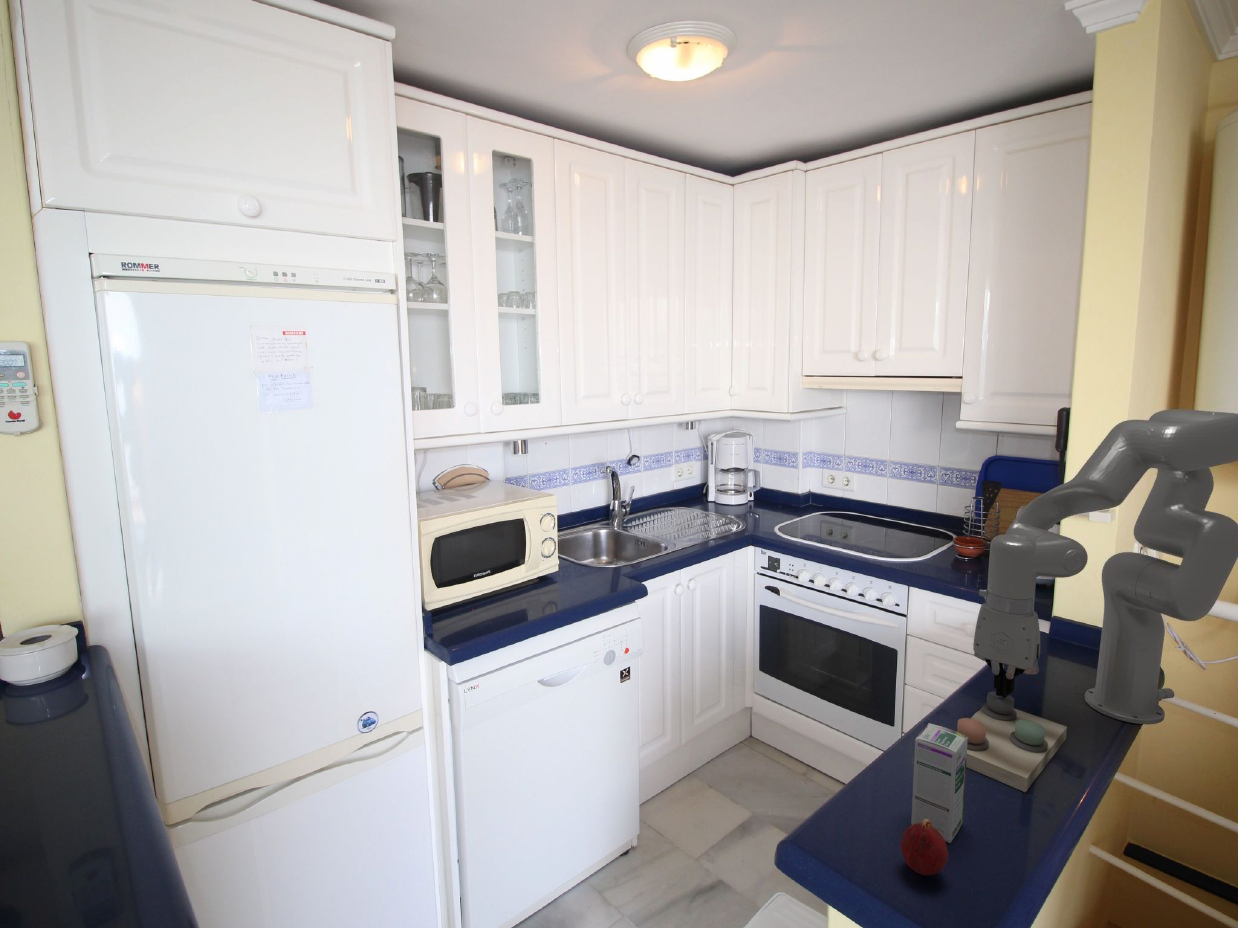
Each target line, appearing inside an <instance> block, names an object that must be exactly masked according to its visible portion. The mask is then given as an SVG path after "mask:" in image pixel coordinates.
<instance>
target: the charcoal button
mask: <svg viewBox="0 0 1238 928" xmlns="http://www.w3.org/2000/svg"><path fill="white" fill-rule="evenodd" d="M986 703H987V707H988V708H989V709H990V710H991V711H993V712H996V713H1000V714H1011V713H1013V709H1014V706H1015V699H1014V697H1013V696H1011V695H1010V694H1009V695H1008V696H1007V697H1006V698H1003V697H1002V696H997V695H996V691H989V692H987V696H986Z"/></svg>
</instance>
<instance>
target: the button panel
mask: <svg viewBox="0 0 1238 928" xmlns="http://www.w3.org/2000/svg"><path fill="white" fill-rule="evenodd" d="M970 719H974V720H977V721H980V722H981V723H983V724H984V725H985V726H986V736H985V742H983V743H980V744H974V743H969V742H968V743H967V760H966V769H967V768H968V769H970V770H973V771H975V772H976V773H979V774H982V775H983V776H987V777H989V778H991V779H994V780H995V781H998V782H1001V783H1003V784H1005V785H1008V786H1009V787H1012V788H1015V789H1016V790H1019V791H1022V792H1024V793H1026V792H1028V790H1029V788H1031V786H1032V785H1033V783H1034V782H1036V779H1037V778H1038V777H1039V776H1040V774H1041V772H1042V771H1043V770H1044V769H1045V768H1046V766H1047V765H1048V763H1050V761H1051V760H1052V758H1053V757H1054V756H1055V754H1056V753H1057V752H1058V750H1059V749H1060V748H1061V747H1062V746H1063V744H1064V743H1065V741H1066V740H1067V731H1068V727H1067V726H1066V725H1063V724H1061V723H1057V722H1055V721H1052V720H1049V719H1046V718H1043V717H1040V716H1037V715H1034V714H1031V713H1029V712H1026V711H1023V710H1020V709H1017V708H1014V709H1013V713H1011V714H1000V713H996V712H993V711H991V710H990V709H989V708H988V707H987V702H984V703H983V704H982V707H981V708H980V709H979V710H978V711H976V712H975V713H974V714H973V715H972V716H971V717H970ZM1021 719H1024V720H1031V721H1034V722H1037V723H1039V724H1040V725H1042V726H1043V727H1044V728H1045V738H1044V743H1043V744H1042V745H1030V744H1027V743H1024V742H1022V741H1020V740H1018V739H1017V738H1016V737H1015V735H1014V734H1015V723H1016V721H1017V720H1021ZM955 731H956V732H957V729H956V730H955Z"/></svg>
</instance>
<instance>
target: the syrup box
mask: <svg viewBox="0 0 1238 928" xmlns="http://www.w3.org/2000/svg"><path fill="white" fill-rule="evenodd" d="M967 743H968V737H967V736H966V735H963V734H961V733H958V732H956V730H953V729H950V728H949V727H945V726H941V725H937V724H933V723H930V722H928V724H927V725H926V726H925V728H923V729H922V730H921V732H919V734H918V736H916V737H915V739H914V759H913V761H914V762H913V776H912V780H913V781H912V800H911V801H912V803H911V819H910V820H911V821H910V822H911V823H910V826H911V825H913V824H916V823H921V822H922V821H923V819H929V820H930V821H931V822H932V825H931V826H932V827H934V828H935V829H936V830H937V831H938V832H939V833H940V834H941V835H942V837H943V838H944V840H945V843H948V844H951V843H952V842H953V840H954V839H955V837H956V835H957V834H958V832H959V830H960V828H961V827H962V825H963V823H964V807H965V805H964V804H965V793H966V792H965V791H966V790H965V789H966V774H967V773H966V772H967V767H966V760H967Z"/></svg>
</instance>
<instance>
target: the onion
mask: <svg viewBox="0 0 1238 928" xmlns="http://www.w3.org/2000/svg"><path fill="white" fill-rule="evenodd" d="M931 825H932V822H931V821H930V820H929V819H923V821H922V822H921V823H916V824H913V825H911V824H910V825H909V826H908V827H907V828H905V830H904V831H903V833H902V836H901V840H900V849H901V850H900V851H901V855H902V857H903V859H904V861H905V862H906V864H907V866H908V867H909V868H910V869H911V870H913V871H914V872H915V873H918V874H920V875H922V876H931V875H932V876H933V875H937V874H939V872H941V871H942V870H943V869H944V868H945V867H946V865H947V862H948V859H949V850H948V847H947V844H946V843H947V842H946V841H945V840H944V838H943V837H942V835H941V834H940V833H939V832H938V831H937V830H936V829H935V828H934V827H932V826H931Z"/></svg>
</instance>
